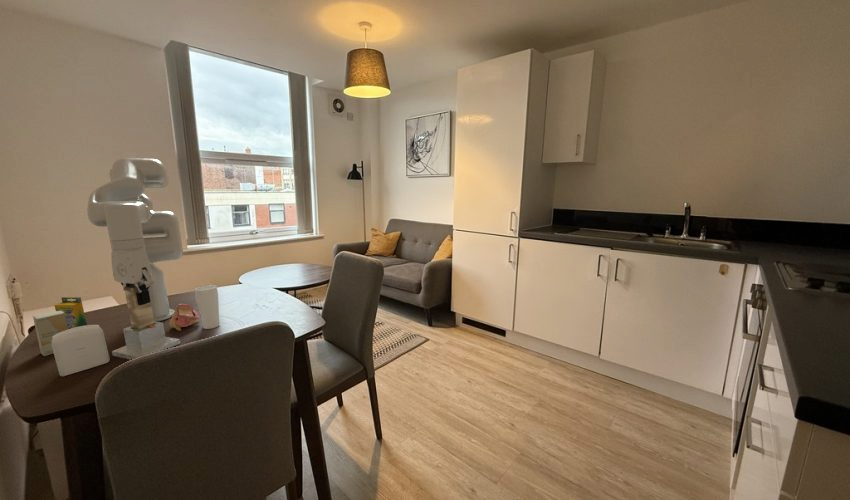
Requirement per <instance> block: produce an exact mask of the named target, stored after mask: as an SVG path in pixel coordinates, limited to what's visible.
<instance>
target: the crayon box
mask: <svg viewBox="0 0 850 500" xmlns="http://www.w3.org/2000/svg"><path fill="white" fill-rule="evenodd" d="M71 299H72V300H71ZM54 309H55V312H56V311H61V310H62V311H63V312H64V313H65V318H66V323H67V328H68V329H71V328H75V327H79V326H86V325H88V322H87V319H86V318H87V317H86V315H85V310H84V305H83V302H82V297H80V296H78V297H73V296H72V297H66V296H65V297H61V302H59V303H56V304H54Z"/></svg>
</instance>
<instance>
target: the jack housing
mask: <svg viewBox="0 0 850 500" xmlns="http://www.w3.org/2000/svg"><path fill="white" fill-rule="evenodd" d="M154 323H155V325H148V326H147V328H145V329H142V330H136V329H132V328H131V325H130V326H127V327H124V328H123V329H122V331H123V336H124V341H125V345H124V346H121V347H119V348H117V349H114V350H112V351H111V354H112V356H113V357H118V358H121V359H125V358H126V359H127V360H130V361H132V360H131V359H134V358H137V357H139V356H142V355H146V354H149V353H152V352H156V351H160V350H164V349H167V348H169V349H171V348H173V347H175V346H178V345H180V344H181V340H180V338H175V337H169V336H166V332H165V326H164V322H161V321H158V322H155V321H154ZM167 350H168V349H167Z"/></svg>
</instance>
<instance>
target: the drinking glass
mask: <svg viewBox="0 0 850 500" xmlns="http://www.w3.org/2000/svg"><path fill="white" fill-rule="evenodd" d="M194 295H195V301H196V305H197V308H198V309H197V310H198V312H199V313H198V314H199V318H200V321H201V326H202V328H203V329H204V330H211V329H215V328H217V327H218V326H220V324H221V323H220V310H219V309H220V307H219V305H220V304H219V292H218V286H217V285H215V284H209V285H207V284H206V285H202V286H199V287H198V286H197V287H195V289H194Z"/></svg>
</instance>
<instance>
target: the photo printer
mask: <svg viewBox="0 0 850 500" xmlns="http://www.w3.org/2000/svg"><path fill="white" fill-rule="evenodd" d="M100 326H101V325H99V324H87V325H86V326H79V327H75V328H71V329H68V330H65V331H62V332H60V333H58V334H56V335H54V336H52V337H53V339H52V349H53V352H54V353H53V355H54V358H55V364H56V367H57V371H58V374H59V376H60V377H65V376H69V375H72V374H75V373H80V372H82V371H85V370H89V369H92V368H95V367H99V366H102V365H104V364H107V363H109V362H110V361H111V360H110V354H109V351H108V345H107V343H106V342H107V341H106V338H105V333H104V330H103V328H101V327H100Z"/></svg>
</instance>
